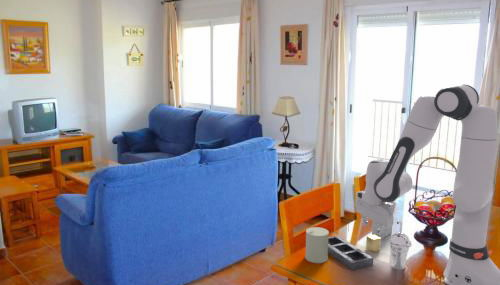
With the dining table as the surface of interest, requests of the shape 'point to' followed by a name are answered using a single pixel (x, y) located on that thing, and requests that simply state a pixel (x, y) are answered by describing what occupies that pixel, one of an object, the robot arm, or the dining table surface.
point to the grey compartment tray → (348, 253)
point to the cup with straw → (399, 248)
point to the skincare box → (376, 226)
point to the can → (316, 245)
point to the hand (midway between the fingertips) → (372, 229)
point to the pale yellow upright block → (373, 243)
